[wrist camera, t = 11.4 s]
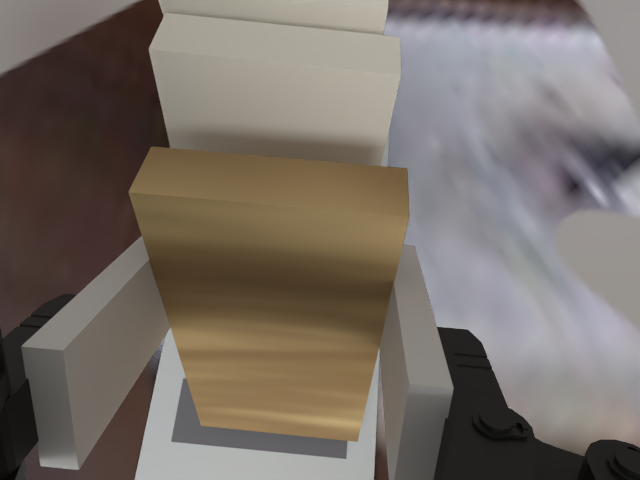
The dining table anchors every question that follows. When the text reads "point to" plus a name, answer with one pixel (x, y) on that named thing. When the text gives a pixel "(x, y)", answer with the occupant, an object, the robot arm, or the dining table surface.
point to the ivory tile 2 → (291, 12)
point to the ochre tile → (273, 282)
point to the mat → (243, 438)
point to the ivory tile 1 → (275, 88)
